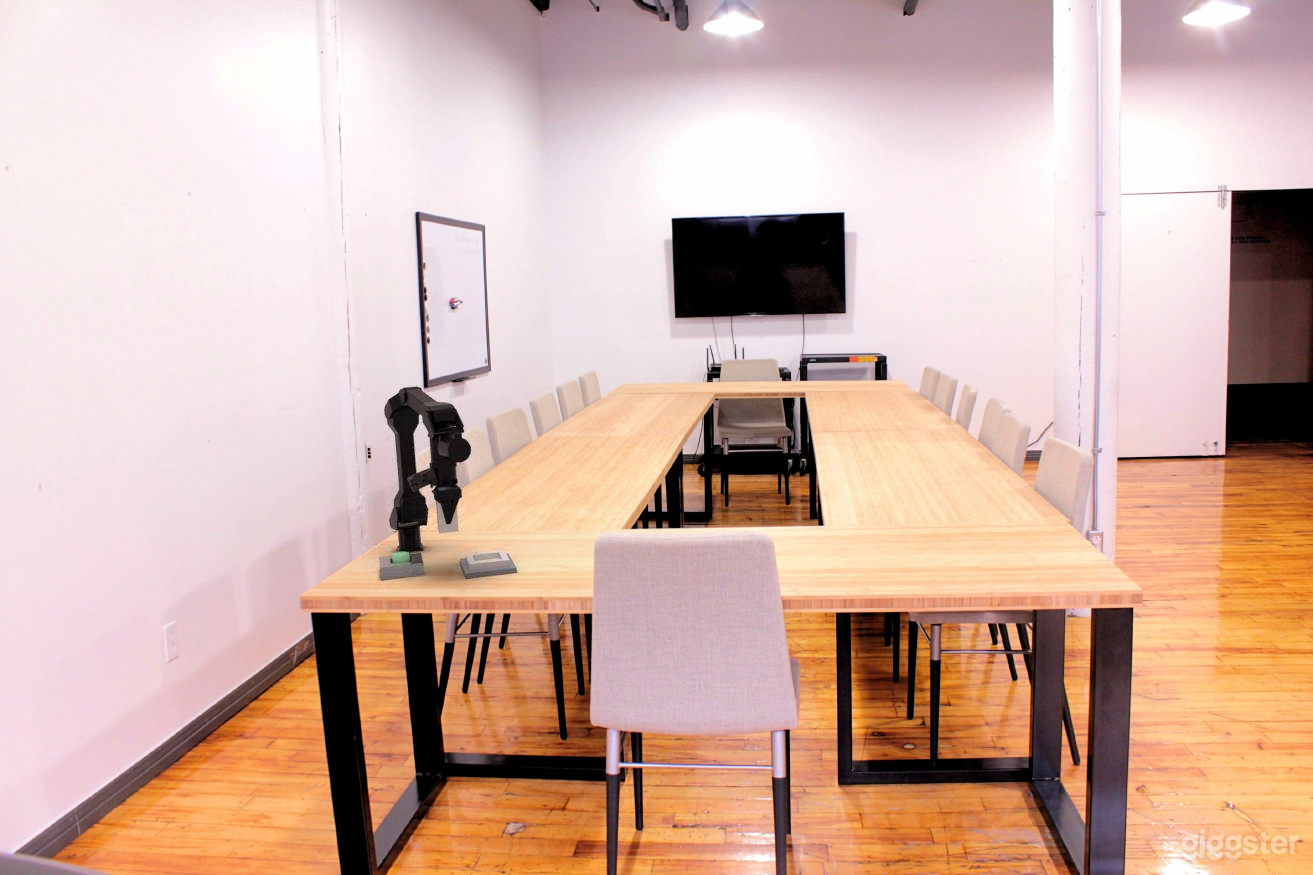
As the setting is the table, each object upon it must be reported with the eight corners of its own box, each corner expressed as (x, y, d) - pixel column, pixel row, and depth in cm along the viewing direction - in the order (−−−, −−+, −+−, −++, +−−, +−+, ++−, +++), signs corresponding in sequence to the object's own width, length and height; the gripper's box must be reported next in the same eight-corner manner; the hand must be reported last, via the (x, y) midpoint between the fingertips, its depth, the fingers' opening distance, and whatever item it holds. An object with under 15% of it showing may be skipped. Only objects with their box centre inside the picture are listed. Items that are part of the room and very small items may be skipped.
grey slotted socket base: (460, 563, 244) (459, 552, 244) (508, 557, 247) (507, 547, 247) (465, 578, 231) (464, 567, 230) (517, 572, 234) (516, 561, 234)
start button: (392, 568, 239) (391, 552, 239) (409, 566, 241) (408, 550, 240) (393, 572, 236) (392, 556, 235) (410, 571, 237) (409, 554, 236)
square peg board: (380, 569, 242) (379, 557, 241) (421, 564, 244) (421, 552, 244) (380, 579, 232) (379, 567, 232) (424, 575, 235) (423, 562, 234)
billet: (438, 529, 238) (435, 496, 237) (456, 527, 239) (454, 494, 238) (439, 533, 234) (436, 500, 232) (458, 531, 235) (456, 498, 234)
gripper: (406, 454, 240) (411, 517, 243) (409, 466, 223) (414, 534, 225) (453, 450, 243) (457, 512, 246) (459, 462, 226) (464, 529, 228)
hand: (447, 521), depth 236 cm, fingers closed on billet, 4 cm apart
